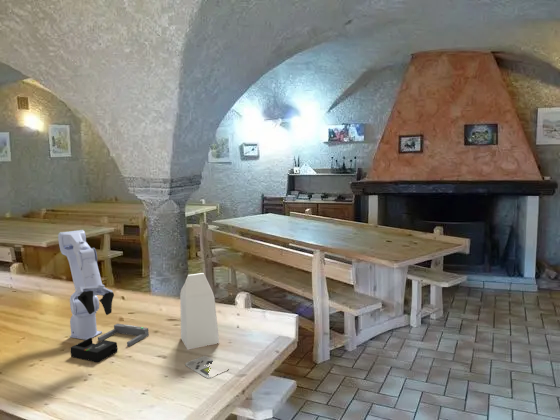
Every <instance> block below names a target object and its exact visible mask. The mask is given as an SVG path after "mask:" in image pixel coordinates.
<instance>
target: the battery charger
mask: <svg viewBox="0 0 560 420" xmlns="http://www.w3.org/2000/svg"><path fill="white" fill-rule="evenodd" d="M118 349H119V348H118V343H117V341H111V340H106V339H104V340H102V341H97V343H94V342H93V338H89V339H87V340H82V341H81V342H78V343H76V344H75V345H73V346H71V347H70V356H71V358H74V359H80V360H83V361H87V362H93V363H100V362H101V361H104V360H106V359H107V358H109V357H111V356H112V355H114V354H116V353H117V352H118Z"/></svg>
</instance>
